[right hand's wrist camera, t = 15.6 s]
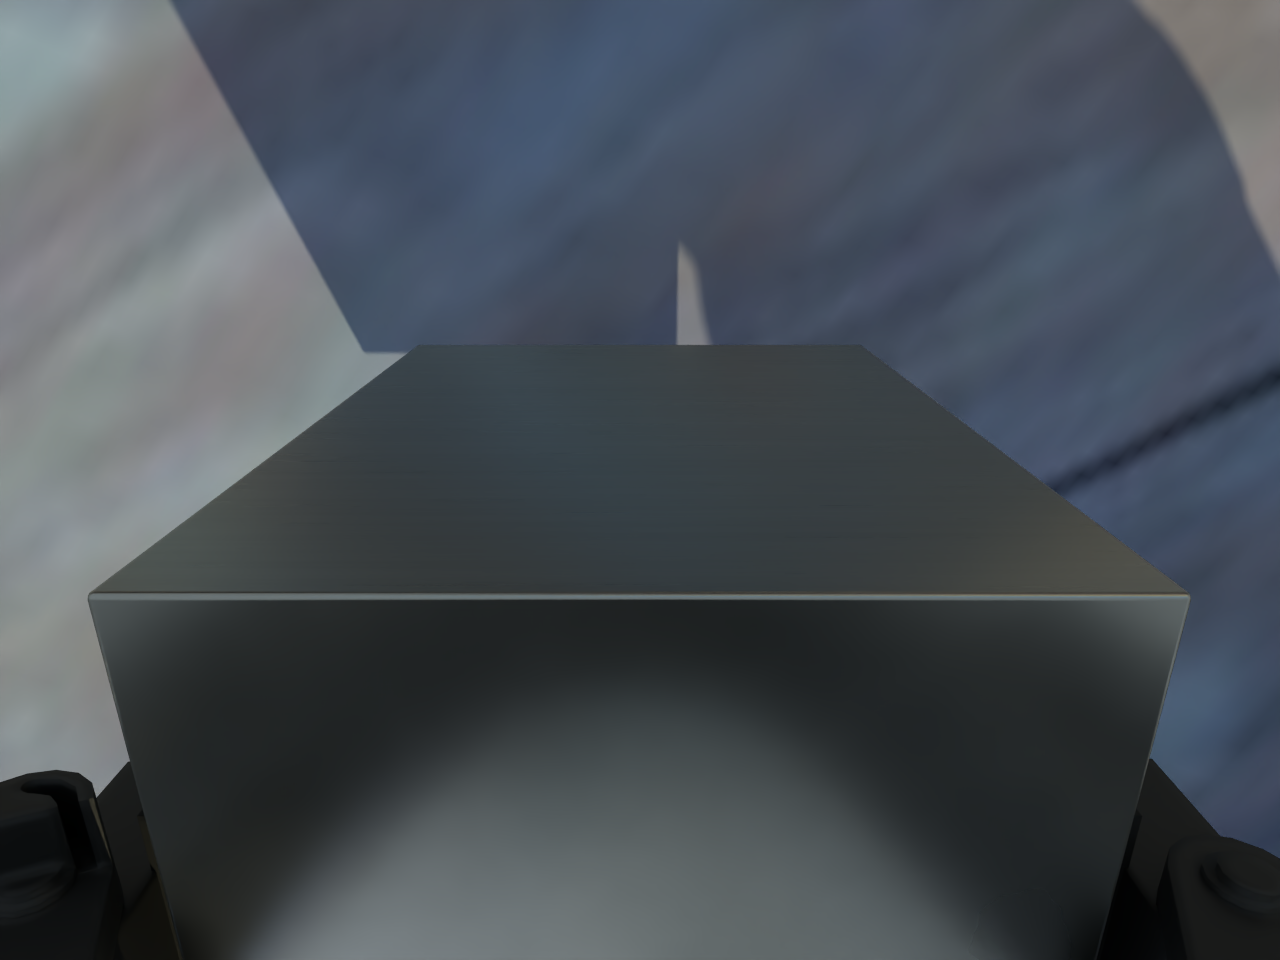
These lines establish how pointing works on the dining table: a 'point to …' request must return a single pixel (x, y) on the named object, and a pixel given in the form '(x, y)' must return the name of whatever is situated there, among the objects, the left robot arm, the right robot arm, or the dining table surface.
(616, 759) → the block
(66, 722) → the dining table surface
